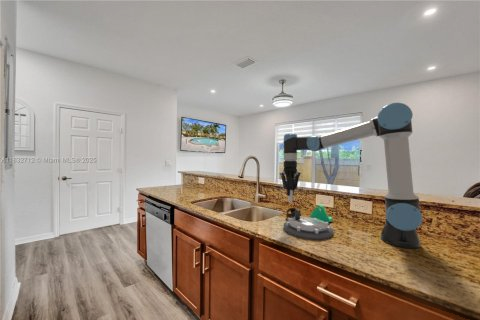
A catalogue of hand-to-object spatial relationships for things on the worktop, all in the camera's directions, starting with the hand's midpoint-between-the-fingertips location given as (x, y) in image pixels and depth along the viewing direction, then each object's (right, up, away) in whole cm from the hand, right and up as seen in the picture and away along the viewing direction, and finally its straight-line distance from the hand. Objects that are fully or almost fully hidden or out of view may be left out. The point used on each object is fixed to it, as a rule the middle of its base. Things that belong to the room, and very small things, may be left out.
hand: (290, 201), depth 118 cm
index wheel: (+8, -13, -5) cm, 16 cm away
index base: (+8, -15, -5) cm, 18 cm away
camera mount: (+24, -16, +14) cm, 32 cm away
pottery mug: (+7, -15, +18) cm, 25 cm away
